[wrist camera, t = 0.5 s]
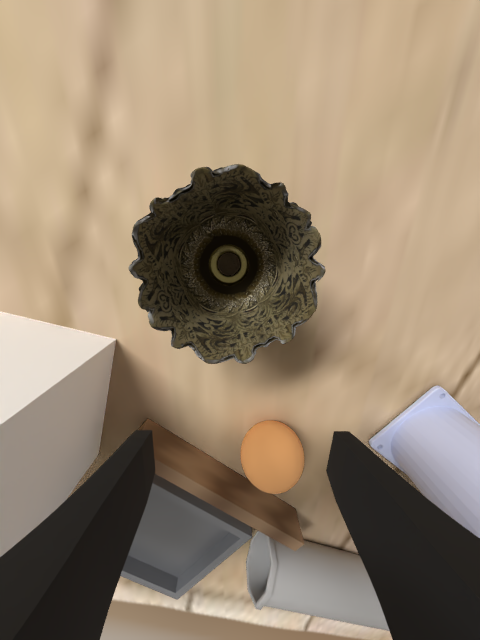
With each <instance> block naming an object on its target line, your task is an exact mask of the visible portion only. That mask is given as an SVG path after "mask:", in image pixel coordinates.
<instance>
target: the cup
mask: <svg viewBox="0 0 480 640" xmlns="http://www.w3.org/2000/svg"><path fill="white" fill-rule="evenodd" d="M191 177H192V180H191V184H189V185H187V186H186V187H184V188H180V189H179V188H178V189H176V190H175V192H174V193H173V195H172V196H170V197H169V198H163V199H162V198H155V199H153V200H152V201H151V203H150V211H151V213H150V214H148V215H147V216H145V217H143V218H142V219H140V220H138V221H137V222H136V223H135V225H134V227H133V231H132V238H133V242H134V245H135V247H136V248H137V251H138V259H136V260H134V261H133V262H132V264H131V265H130V266H129V271H130V272H131V274H132V275H133V276H134V278H137V279H138V278H139V279H140V280H143V283H142V284H141V286H140V287H139V291H140V293H139V297H138V304H139V306H140V307H141V308H142V309H145V310H146V311H147V312H149V314H148V318H149V323H150V325H151V327H152V328H154V329H156V330H160V331H168V330H171V331H172V332H171V333H172V340H171V346H173V347H174V348H177V349H180V348H183V347H186V346H189V347H190V348H192V349H193V350H194V351H195V353H196V355H197V356H198V357H199V358H200V359H201V360H203V361H204V362H206V363H208V364H216V363H221V362H224V361H227V360H229V359H233V358H234V359H235V360H236V361H237V362H239V363H244V364H247V363H249V362H251V361H252V360H253V359H254V356H255V354H256V349H258V348H260V347H267V346H268V345H269V344H270V343H271V342H273V341H274V340H279V341H281V342H280V343H282V344H285V343H287V342H289V341H291V340H292V339H293V338H294V336H295V330H296V328H295V327H297V326H299V325H301V324H303V323H305V322H306V321H307V320H308V319H309V318H310V317H311V316H312V315H313V313H314V312H315V311H316V308H317V292H316V284H315V282H316V280H318V281H319V280H320V279H321V278H322V277H323V276H324V273H325V267H324V266H323V265H322V264H321V263H319V262H317V261H316V260H315V259H314V258H313V256H314V255H315V254H316V253H317V252H318V250H319V249H320V247H321V237H320V233H319V232H318V230H317V229H316V228H315V227H313V226H311V224H312V222H311V221H310V220H311V214H310V213H309V212H308V211H307V210H305V209H303V208H301V207H299V206H298V205H297V204H296V203H293V202H292V203H289V202H288V193H287V191H286V187H285V185H284V184H283V183H273V184H268V183H267V182H266V181H264V180H263V179H262V178H261V176H260V174H259V173H257V172H255V171H254V170H252V169H250V168H248V167H246V166H244V165H240V164H236V165H231V166H227V167H224V168H219V169H216V170H214V171H212V170H211V169H210V168H209V167H201V168H198V169H195V170H194V171H193V172H192V173H191ZM227 252H231V253H234V254H235V255H237V256H238V258H239V260H240V269H239V271H238V272H237V273H236V274H235V275H232V276H226V275H223V274H222V273H221V272H220V271H219V269H218V266H217V262H218V259H219V257H220V256H221V255H222V254H224V253H227ZM318 281H317V282H318ZM254 351H255V352H254ZM253 354H254V355H253Z"/></svg>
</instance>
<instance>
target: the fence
mask: <svg viewBox="0 0 480 640" xmlns="http://www.w3.org/2000/svg"><path fill="white" fill-rule="evenodd" d="M139 430H152V434H153V447H154V459H155V474H156V475H158V476H160V477H162V478H164V479H165V480H167V481H169V482H171V483H173V484H175V485H176V486H178V487H180V488H182V489H184V490H185V491H187V492H189V493H191V494H193V495H194V496H196V497H198V498H200V499H202V500H203V501H205V502H207V503H209V504H211V505H212V506H214V507H216V508H218V509H220V510H221V511H223V512H225V513H227V514H229V515H231V516H232V517H234V518H236V519H238V520H240V521H241V522H243V523H245V524H247V525H249V526H250V527H252V528H254V529H256V530H258V531H259V532H261V533H263V534H265V535H267V536H268V537H270V538H272V539H274V540H276V541H277V542H279V543H281V544H283V545H285V546H287V547H288V548H290V549H292V550H294V551H296V550H297V549H299V548H300V547H301V546H303V545H304V541H303V537H302V533H301V529H300V525H299V521H298V517H297V514H296V510H295V508H293V507H292V506H290V505H288V504H287V503H285V502H284V501H282V500H280V499H279V498H277V497H275V496H274V495H272V494H270V493H266V492H263V491H261V490H259V489H258V488H257V487H255V486H254V485H253V484H252V483H251V482H250V481H249V480H248V479H246V478H244V477H243V476H241V475H240V474H238V473H236V472H235V471H233V470H231V469H230V468H228V467H226V466H225V465H223V464H222V463H220V462H218V461H217V460H215V459H213V458H212V457H210V456H209V455H207V454H205V453H204V452H202V451H200V450H199V449H197V448H195V447H194V446H192V445H191V444H189V443H187V442H186V441H184V440H182V439H181V438H179V437H178V436H176V435H174V434H173V433H171V432H169V431H168V430H166V429H164V428H163V427H161V426H160V425H158V424H156V423H155V422H153V421H151V420H150V419H147V420H146V421H145V422H144V423H143V424H142V426H141V427H140V428H139Z"/></svg>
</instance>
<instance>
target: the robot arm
mask: <svg viewBox="0 0 480 640" xmlns="http://www.w3.org/2000/svg"><path fill="white" fill-rule="evenodd" d="M369 444H370V446H371V447H372V448H373V449H375V450H376V451H377V452H378V453H380V454H381V455H382V456H384V457H385V458H386V459H387V460H389V461H390V462H391V463H392V464H394V465H395V466H396V467H398V468H399V469H400V470H401V471H403V472H404V473H405V474H407V475H408V477H409V478H410V479H411V480H412V482H413V483H414V484H415V485H416V487H417V488H418V489H419V490H420V492H421V493H422V494H423V495H422V494H421V493H420V492H419V491H417V490H416V489H415V488H414V487H413V486H411V485H410V484H409V483H408V482H407V481H405V480H404V479H403V478H402V477H401V476H399V475H398V474H397V473H396V472H395V471H394V470H392V469H391V468H390V467H389V466H388V465H387V464H386V463H384V462H383V461H382V460H381V459H380V458H379V457H378V456H376V455H375V454H374V453H373V452H372V451H371V450H370V449H369V448H367V447H366V446H365V445H364V444H363V443H362V442H361V441H359V440H358V439H357V438H356V437H355V436H354V435H353V434H351V433H350V432H347V431H334V435H333V440H332V445H331V450H330V455H329V460H328V465H327V470H326V471H327V474H328V478H329V481H330V484H331V487H332V490H333V493H334V496H335V499H336V502H337V504H338V507H339V509H340V511H341V514H342V516H343V518H344V521H345V523H346V525H347V528H348V530H349V532H350V534H351V537H352V539H353V541H354V544H355V546H356V548H357V550H358V553H359V555H360V557H361V559H362V562H363V564H364V566H365V569H366V571H367V573H368V575H369V578H370V580H371V583H372V585H373V587H374V590H375V592H376V595H377V597H378V600H379V603H380V605H381V608H382V611H383V614H384V616H385V619H386V622H387V625H388V627H389V630H390V633H391V636H392V639H393V640H480V424H479V423H478V422H477V421H476V420H475V419H474V418H473V417H472V416H471V415H470V414H469V413H468V412H467V411H466V410H465V409H464V408H463V407H462V406H461V405H460V404H459V403H458V402H457V401H456V400H454V399H453V398H452V397H451V396H450V395H449V394H448V393H447V392H446V391H445V390H444V389H443V388H442V387H440V386H434V387H432V388H431V389H430V390H429V391H427V392H426V393H425V394H424V395H423V396H421V397H420V398H419V399H418V400H417V401H415V402H414V403H413V404H412V405H411V406H409V407H408V408H407V409H406V410H405V411H403V412H402V413H401V414H400V415H399V416H397V417H396V418H395V419H394V420H393V421H391V422H390V423H389V424H388V425H387V426H385V427H384V428H383V429H382V430H381V431H379V432H378V433H377V434H376V435H375V436H373V437H372V438H371V439H370V440H369ZM154 475H155V459H154V447H153V434H152V430H136V431H135V432H134V433H133V434H132V435H131V436H130V437H129V438H128V439H127V440H126V441H125V442H124V443H123V444H122V445H121V446H120V447H119V448H118V449H117V450H116V451H115V452H114V453H113V454H112V456H111V457H110V458H109V459H108V460H107V461H106V462H105V463H104V464H103V465H102V466H101V467H100V468H99V469H98V470H97V471H96V472H95V473H94V474H93V475H92V476H91V477H90V478H89V479H88V480H87V481H86V482H85V483H84V484H83V485H82V486H81V487H80V488H78V489H77V490H76V491H75V492H74V493H73V494H72V495H71V496H70V497H69V498H68V499H67V500H66V501H64V502H63V503H62V504H61V505H60V506H59V507H58V508H57V509H56V510H55V511H54V512H53V513H52V514H50V515H49V516H48V517H47V518H46V519H45V520H44V521H42V522H41V523H40V524H39V525H38V526H37V527H36V528H34V529H33V530H32V531H31V532H30V533H29V534H27V535H26V536H25V537H24V538H23V539H22V540H20V541H19V542H18V543H17V544H16V545H14V546H13V547H12V548H11V549H10V550H8V551H7V552H6V553H5V554H3V555H2V556H1V557H0V640H100V636H101V633H102V629H103V626H104V623H105V619H106V616H107V613H108V609H109V607H110V604H111V601H112V598H113V595H114V592H115V589H116V586H117V583H118V581H119V578H120V575H121V572H122V570H123V567H124V564H125V562H126V559H127V556H128V553H129V551H130V548H131V545H132V543H133V540H134V537H135V535H136V532H137V529H138V526H139V524H140V521H141V518H142V515H143V513H144V510H145V507H146V504H147V501H148V498H149V494H150V490H151V487H152V483H153V479H154Z"/></svg>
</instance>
